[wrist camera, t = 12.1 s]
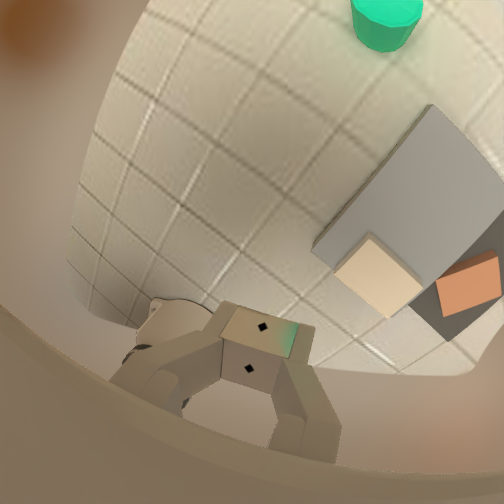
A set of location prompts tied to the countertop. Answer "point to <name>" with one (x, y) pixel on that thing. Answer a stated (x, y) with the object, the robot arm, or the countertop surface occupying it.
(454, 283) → the terracotta tile
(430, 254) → the platform
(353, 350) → the countertop surface
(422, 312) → the mat
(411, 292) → the cream tile
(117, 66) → the countertop surface
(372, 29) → the candle
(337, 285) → the countertop surface
